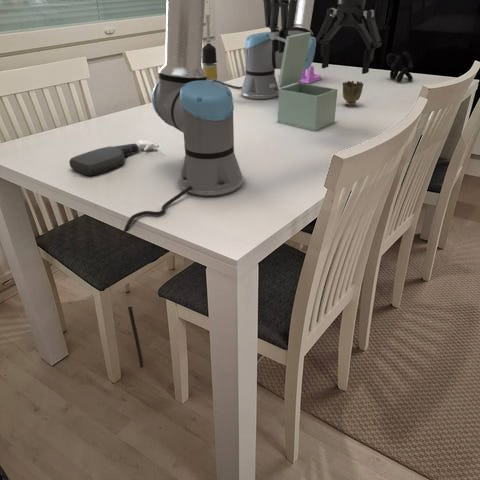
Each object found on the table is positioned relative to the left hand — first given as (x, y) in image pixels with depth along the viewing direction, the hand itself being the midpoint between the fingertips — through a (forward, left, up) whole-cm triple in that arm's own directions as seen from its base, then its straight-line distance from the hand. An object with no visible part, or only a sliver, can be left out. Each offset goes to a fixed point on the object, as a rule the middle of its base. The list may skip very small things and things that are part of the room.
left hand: (344, 70), depth 134 cm
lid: (+7, +17, +1) cm, 18 cm away
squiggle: (+77, -15, -18) cm, 81 cm away
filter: (+24, +55, -18) cm, 62 cm away
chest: (+5, +12, -18) cm, 22 cm away
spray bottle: (-44, +55, -18) cm, 72 cm away
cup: (+29, 0, -18) cm, 35 cm away
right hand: (+9, +23, +3) cm, 25 cm away
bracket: (+66, +23, -18) cm, 73 cm away
